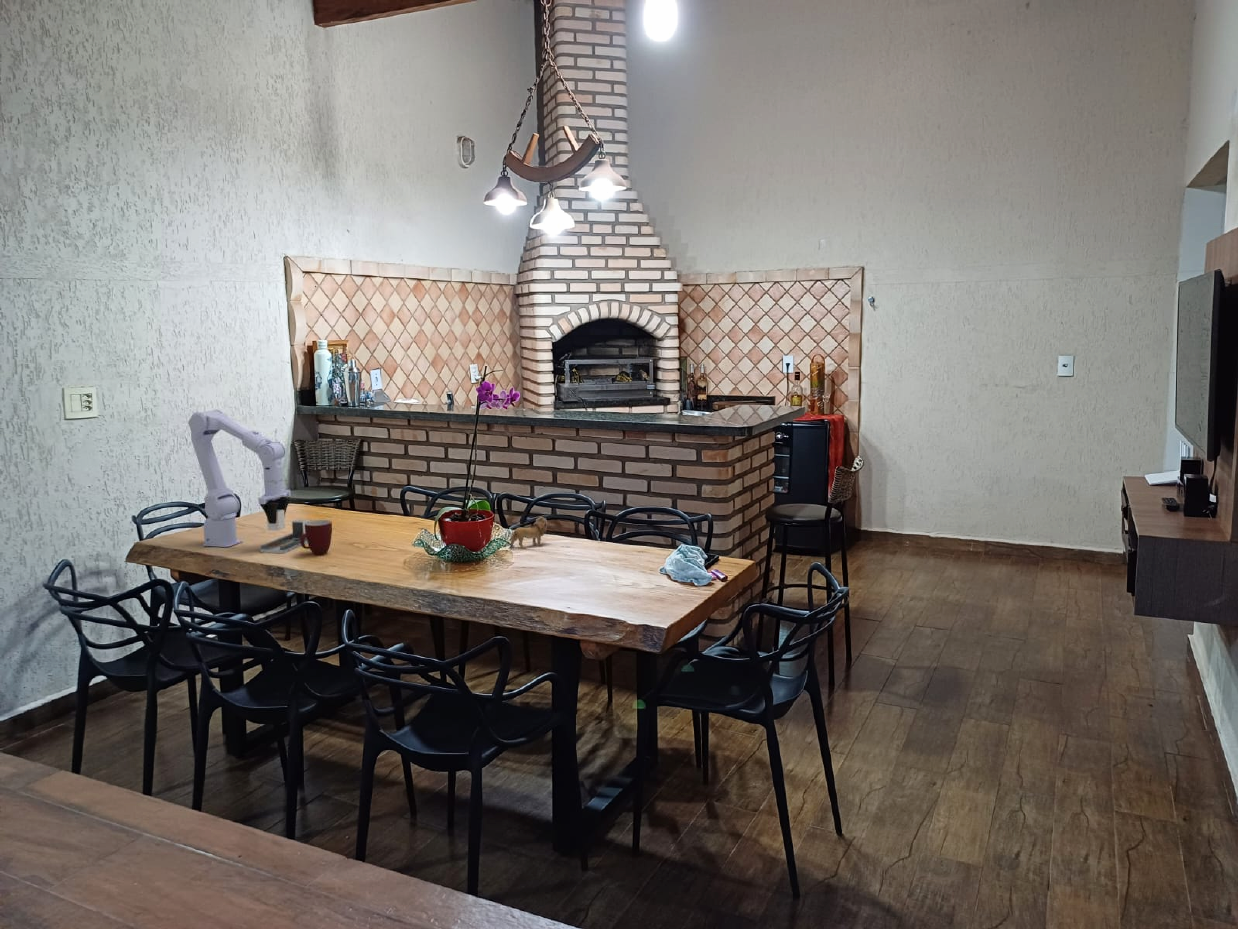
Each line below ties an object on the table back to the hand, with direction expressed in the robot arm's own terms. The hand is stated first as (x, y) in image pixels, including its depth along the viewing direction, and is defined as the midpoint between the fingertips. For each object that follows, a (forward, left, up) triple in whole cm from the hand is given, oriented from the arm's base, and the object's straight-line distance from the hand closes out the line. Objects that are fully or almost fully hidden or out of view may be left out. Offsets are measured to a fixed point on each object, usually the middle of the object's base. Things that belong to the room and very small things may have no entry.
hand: (276, 521), depth 284 cm
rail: (+2, +4, -9) cm, 10 cm away
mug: (+17, -5, -9) cm, 19 cm away
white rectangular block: (0, 0, -2) cm, 2 cm away
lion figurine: (+79, +19, -9) cm, 82 cm away
